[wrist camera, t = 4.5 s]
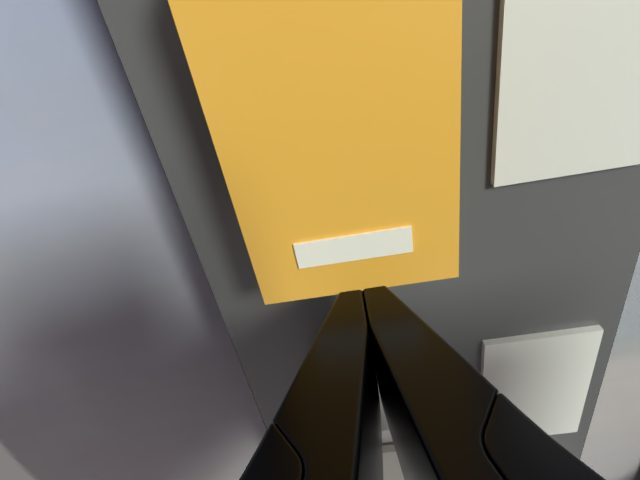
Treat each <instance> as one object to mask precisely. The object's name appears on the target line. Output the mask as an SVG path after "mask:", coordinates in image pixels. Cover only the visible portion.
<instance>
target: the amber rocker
mask: <svg viewBox="0 0 640 480" xmlns="http://www.w3.org/2000/svg"><path fill="white" fill-rule="evenodd" d="M168 3H169V6H170V9H171V12H172V15H173V18H174V21H175V25H176V28H177V31H178V34H179V37H180V40H181V43H182V47H183V50H184V53H185V56H186V59H187V62H188V65H189V68H190V72H191V75H192V78H193V81H194V84H195V87H196V90H197V93H198V97H199V100H200V103H201V106H202V109H203V112H204V115H205V119H206V122H207V125H208V128H209V131H210V134H211V137H212V140H213V144H214V147H215V150H216V153H217V156H218V159H219V162H220V165H221V169H222V172H223V175H224V178H225V181H226V184H227V187H228V190H229V194H230V197H231V200H232V203H233V206H234V209H235V212H236V216H237V219H238V222H239V225H240V228H241V231H242V234H243V237H244V241H245V244H246V247H247V250H248V253H249V256H250V259H251V262H252V266H253V269H254V272H255V275H256V278H257V281H258V284H259V288H260V291H261V294H262V297H263V300H264V303H265V305H267V304H274V303H281V302H288V301H295V300H302V299H309V298H316V297H323V296H330V295H337V294H339V293H340V292H346V291H353V290H361V291H363V290H364V289H366V288H373V287H379V286H386V287H392V286H399V285H406V284H413V283H420V282H427V281H434V280H441V279H448V278H455V277H459V212H460V136H461V59H462V0H168Z"/></svg>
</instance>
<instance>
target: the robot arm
mask: <svg viewBox="0 0 640 480" xmlns="http://www.w3.org/2000/svg"><path fill="white" fill-rule="evenodd" d="M376 376H377V377H376ZM377 382H378V383H377ZM378 388H379V390H378ZM379 393H380V397H379ZM380 398H381V402H382V406H383V410H384V413H385V417H386V420H387V423H388V427H389V430H390V433H391V437H392V440H393V443H394V447H395V450H396V453H397V457H398V460H399V463H400V466H401V470H402V473H403V476H404V480H605V479H604V478H603V477H601V476H600V475H599V474H598V473H596V472H595V471H594V470H592V469H591V468H590V467H588V466H587V465H586V464H584V463H583V462H582V461H581V460H579V459H578V458H577V457H576V456H574V455H573V454H572V453H571V452H569V451H568V450H567V449H565V448H564V447H563V446H562V445H560V444H559V443H558V442H557V441H555V440H554V439H553V438H552V437H550V436H549V435H548V434H547V433H546V432H545V431H543V430H542V429H541V428H540V427H539V426H538V425H537V424H535V423H534V422H533V421H532V420H531V419H530V418H529V417H527V416H526V415H525V414H524V413H523V412H522V411H521V410H519V409H518V408H517V407H516V406H515V405H514V404H513V403H512V402H511V401H510V400H509V399H508V398H507V397H506V396H504V395H503V394H502V393H499V391H498V389H497V388H496V387H494V386H493V385H492V384H491V383H490V382H489V381H488V380H487V379H486V378H485V377H484V376H483V375H481V374H480V373H479V372H478V371H477V370H476V369H475V368H474V367H473V366H472V365H471V364H470V363H468V362H467V361H466V360H465V359H464V358H463V357H462V356H461V355H460V354H459V353H458V352H457V351H455V350H454V349H453V348H452V347H451V346H450V345H449V344H448V343H447V342H446V341H445V340H444V339H443V338H441V337H440V336H439V335H438V334H437V333H436V332H435V331H434V330H433V329H432V328H431V327H430V326H428V325H427V324H426V323H425V322H424V321H423V320H422V319H421V318H420V317H419V316H418V315H417V314H415V313H414V312H413V311H412V310H411V309H410V308H409V307H408V306H407V305H406V304H405V303H404V302H402V301H401V300H400V299H399V298H398V297H397V296H396V295H395V294H394V293H393V292H392V291H391V290H390V289H388V288H387V287H386V286H379V287H373V288H366V289H364V290H363V292H362V291H361V290H353V291H346V292H340V293H339V294H338V296H337V298H336V300H335V302H334V304H333V306H332V308H331V309H330V311H329V313H328V315H327V317H326V319H325V321H324V323H323V325H322V327H321V328H320V330H319V332H318V334H317V336H316V338H315V340H314V342H313V344H312V346H311V347H310V349H309V351H308V353H307V355H306V357H305V359H304V361H303V363H302V365H301V367H300V368H299V370H298V372H297V374H296V376H295V378H294V380H293V382H292V384H291V386H290V387H289V389H288V391H287V393H286V395H285V397H284V399H283V401H282V403H281V405H280V406H279V408H278V410H277V412H276V414H275V416H274V418H273V420H272V421H273V423H271V424H270V425H269V427H268V429H267V431H266V433H265V435H264V436H263V438H262V440H261V442H260V444H259V446H258V448H257V449H256V451H255V453H254V455H253V457H252V458H251V460H250V462H249V464H248V465H247V467H246V469H245V471H244V472H243V474H242V476H241V477H240V479H239V480H384V479H383V454H382V429H381V408H380Z"/></svg>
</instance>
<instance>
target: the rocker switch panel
mask: <svg viewBox="0 0 640 480" xmlns="http://www.w3.org/2000/svg"><path fill="white" fill-rule="evenodd" d="M97 2H98V4H99V7H100V9H101V12H102V14H103V17H104V20H105V22H106V25H107V27H108V30H109V32H110V35H111V37H112V40H113V42H114V45H115V47H116V50H117V52H118V55H119V57H120V60H121V62H122V65H123V68H124V70H125V73H126V75H127V78H128V80H129V83H130V85H131V88H132V90H133V93H134V95H135V98H136V100H137V103H138V105H139V108H140V111H141V113H142V116H143V118H144V121H145V123H146V126H147V128H148V131H149V133H150V136H151V138H152V141H153V143H154V146H155V148H156V151H157V154H158V156H159V159H160V161H161V164H162V166H163V169H164V171H165V174H166V176H167V179H168V181H169V184H170V186H171V189H172V191H173V194H174V197H175V199H176V202H177V204H178V207H179V209H180V212H181V214H182V217H183V219H184V222H185V224H186V227H187V229H188V232H189V234H190V237H191V240H192V242H193V245H194V247H195V250H196V252H197V255H198V257H199V260H200V262H201V265H202V267H203V270H204V272H205V275H206V277H207V280H208V283H209V285H210V288H211V290H212V293H213V295H214V298H215V300H216V303H217V305H218V308H219V310H220V313H221V315H222V318H223V320H224V323H225V326H226V328H227V331H228V333H229V336H230V338H231V341H232V343H233V346H234V348H235V351H236V353H237V356H238V358H239V361H240V363H241V366H242V369H243V371H244V374H245V376H246V379H247V381H248V384H249V386H250V389H251V391H252V394H253V396H254V399H255V401H256V404H257V406H258V409H259V412H260V414H261V417H262V419H263V422H264V424H265V427H266V429H268V427H269V425H270V424H271V423H273V421H272V420H273V418H274V416H275V414H276V412H277V410H278V408H279V406H280V405H281V403H282V401H283V399H284V397H285V395H286V393H287V391H288V389H289V387H290V386H291V384H292V382H293V380H294V378H295V376H296V374H297V372H298V370H299V368H300V367H301V365H302V363H303V361H304V359H305V357H306V355H307V353H308V351H309V349H310V347H311V346H312V344H313V342H314V340H315V338H316V336H317V334H318V332H319V330H320V328H321V327H322V325H323V323H324V321H325V319H326V317H327V315H328V313H329V311H330V309H331V308H332V306H333V304H334V302H335V300H336V298H337V296H338V294H337V295H330V296H323V297H316V298H309V299H302V300H295V301H288V302H281V303H274V304H267V305H265V303H264V300H263V297H262V294H261V291H260V288H259V284H258V281H257V278H256V275H255V272H254V269H253V266H252V262H251V259H250V256H249V253H248V250H247V247H246V244H245V241H244V237H243V234H242V231H241V228H240V225H239V222H238V219H237V216H236V212H235V209H234V206H233V203H232V200H231V197H230V194H229V190H228V187H227V184H226V181H225V178H224V175H223V172H222V169H221V165H220V162H219V159H218V156H217V153H216V150H215V147H214V144H213V140H212V137H211V134H210V131H209V128H208V125H207V122H206V119H205V115H204V112H203V109H202V106H201V103H200V100H199V97H198V93H197V90H196V87H195V84H194V81H193V78H192V75H191V72H190V68H189V65H188V62H187V59H186V56H185V53H184V50H183V47H182V43H181V40H180V37H179V34H178V31H177V28H176V25H175V21H174V18H173V15H172V12H171V9H170V6H169V3H168V0H97ZM639 252H640V0H462V59H461V136H460V212H459V277H455V278H448V279H441V280H434V281H427V282H420V283H413V284H406V285H399V286H392V287H387V288H388V289H390V290H391V291H392V292H393V293H394V294H395V295H396V296H397V297H398V298H399V299H400V300H401V301H402V302H404V303H405V304H406V305H407V306H408V307H409V308H410V309H411V310H412V311H413V312H414V313H415V314H417V315H418V316H419V317H420V318H421V319H422V320H423V321H424V322H425V323H426V324H427V325H428V326H430V327H431V328H432V329H433V330H434V331H435V332H436V333H437V334H438V335H439V336H440V337H441V338H443V339H444V340H445V341H446V342H447V343H448V344H449V345H450V346H451V347H452V348H453V349H454V350H455V351H457V352H458V353H459V354H460V355H461V356H462V357H463V358H464V359H465V360H466V361H467V362H468V363H470V364H471V365H472V366H473V367H474V368H475V369H476V370H477V371H478V372H479V373H480V374H481V375H483V376H484V377H485V378H486V379H487V380H488V381H489V382H490V383H491V384H492V385H493V386H494V387H496V388H497V389H498V391H499V393H502V394H503V395H504V396H506V397H507V398H508V399H509V400H510V401H511V402H512V403H513V404H514V405H515V406H516V407H517V408H518V409H519V410H521V411H522V412H523V413H524V414H525V415H526V416H527V417H529V418H530V419H531V420H532V421H533V422H534V423H535V424H537V425H538V426H539V427H540V428H541V429H542V430H543V431H545V432H546V433H547V434H548V435H549V436H550V437H552V438H553V439H554V440H555V441H557V442H558V443H559V444H560V445H562V446H563V447H564V448H565V449H567V450H568V451H569V452H571V453H572V454H573V455H574V456H576V457H577V458H578V459H579V460H580V457H581V454H582V450H583V447H584V443H585V440H586V436H587V433H588V429H589V426H590V422H591V419H592V415H593V412H594V408H595V405H596V402H597V398H598V395H599V391H600V388H601V384H602V381H603V377H604V374H605V370H606V367H607V363H608V360H609V356H610V353H611V349H612V346H613V342H614V339H615V335H616V332H617V328H618V325H619V321H620V318H621V314H622V311H623V307H624V304H625V301H626V297H627V294H628V290H629V287H630V283H631V280H632V276H633V273H634V269H635V266H636V262H637V259H638V255H639ZM362 292H363V291H362ZM376 377H377V376H376ZM377 383H378V382H377Z"/></svg>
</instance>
